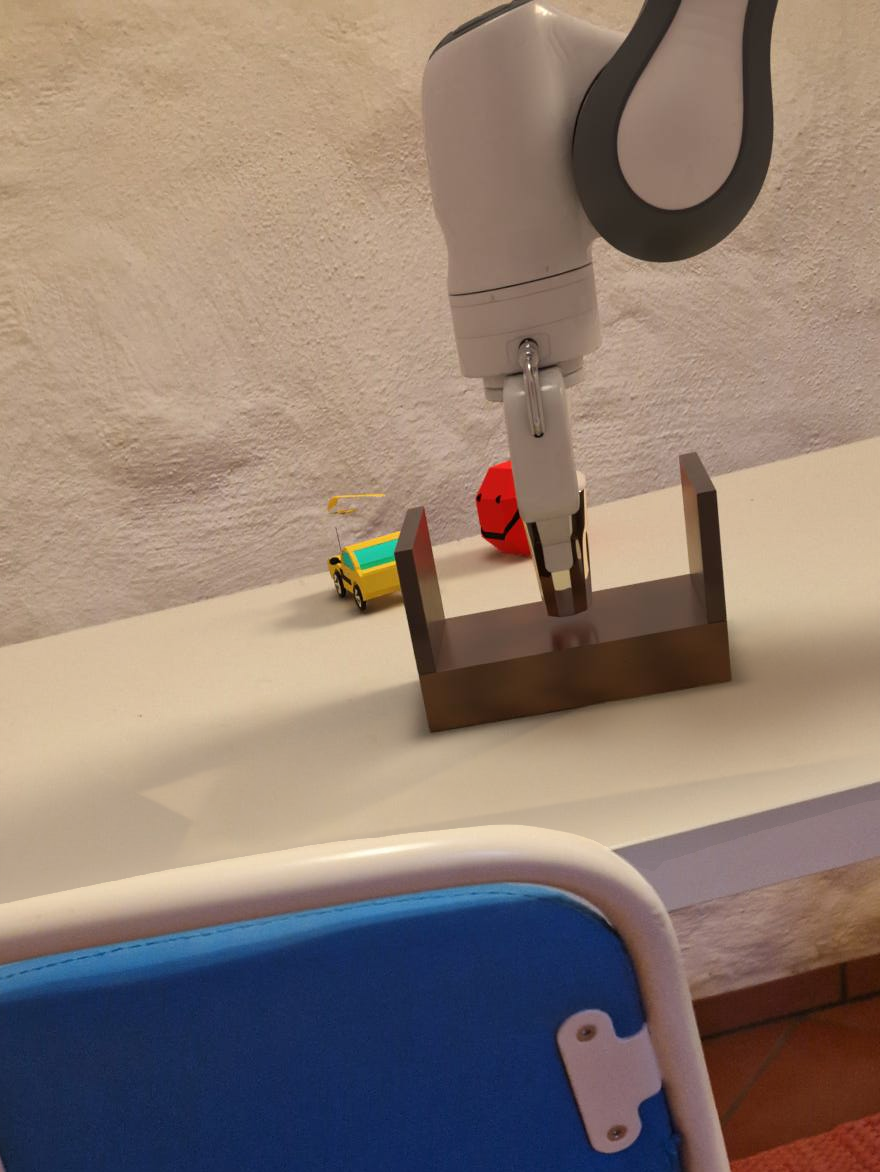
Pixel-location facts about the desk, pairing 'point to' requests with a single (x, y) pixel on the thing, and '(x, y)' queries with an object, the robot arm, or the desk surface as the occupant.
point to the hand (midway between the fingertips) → (559, 557)
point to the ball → (501, 511)
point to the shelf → (570, 632)
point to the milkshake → (571, 586)
